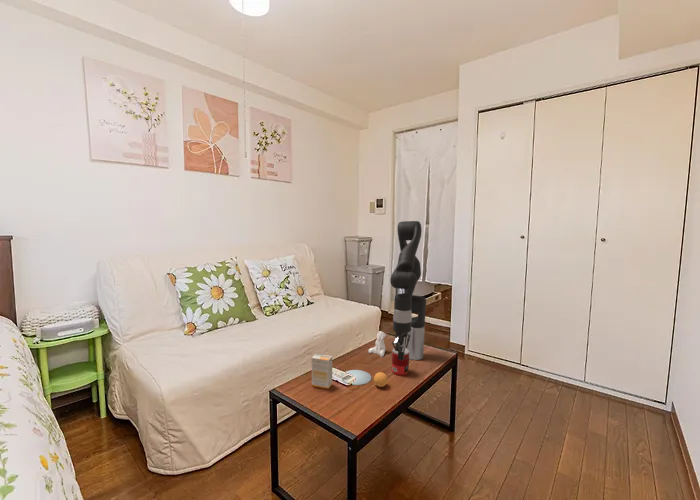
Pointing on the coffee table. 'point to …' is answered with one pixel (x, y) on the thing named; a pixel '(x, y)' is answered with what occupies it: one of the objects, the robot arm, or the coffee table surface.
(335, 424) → the coffee table surface
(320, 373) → the supplement box
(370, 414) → the coffee table surface
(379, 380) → the ball
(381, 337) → the seated beast figurine
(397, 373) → the canned food
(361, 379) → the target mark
